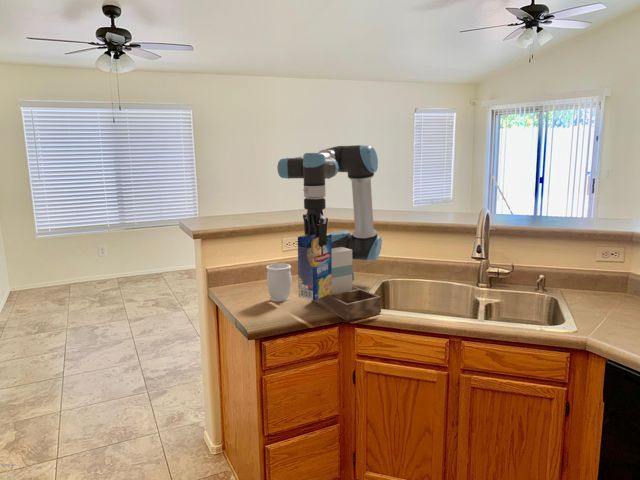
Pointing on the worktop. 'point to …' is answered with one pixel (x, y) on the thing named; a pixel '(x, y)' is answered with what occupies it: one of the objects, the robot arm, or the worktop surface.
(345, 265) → the banded carton
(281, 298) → the jar
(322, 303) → the bin
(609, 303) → the worktop surface
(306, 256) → the blue food box
